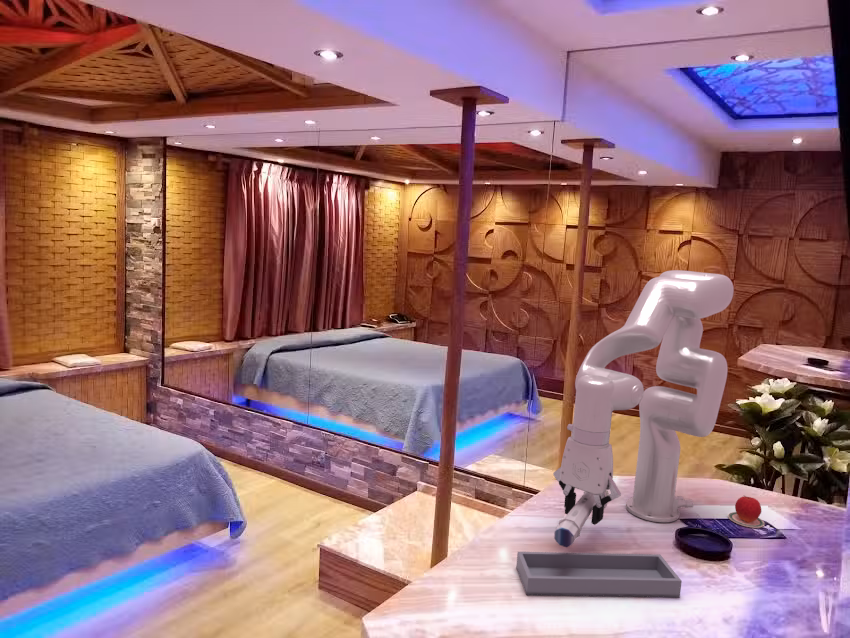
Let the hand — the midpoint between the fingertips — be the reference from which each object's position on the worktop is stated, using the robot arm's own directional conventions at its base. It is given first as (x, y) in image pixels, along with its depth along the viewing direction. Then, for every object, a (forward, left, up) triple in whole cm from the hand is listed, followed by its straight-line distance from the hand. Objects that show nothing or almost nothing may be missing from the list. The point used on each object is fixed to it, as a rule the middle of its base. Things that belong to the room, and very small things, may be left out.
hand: (582, 516), depth 135 cm
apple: (-47, -17, -9) cm, 51 cm away
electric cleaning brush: (0, 0, -1) cm, 2 cm away
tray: (0, +11, -8) cm, 14 cm away
